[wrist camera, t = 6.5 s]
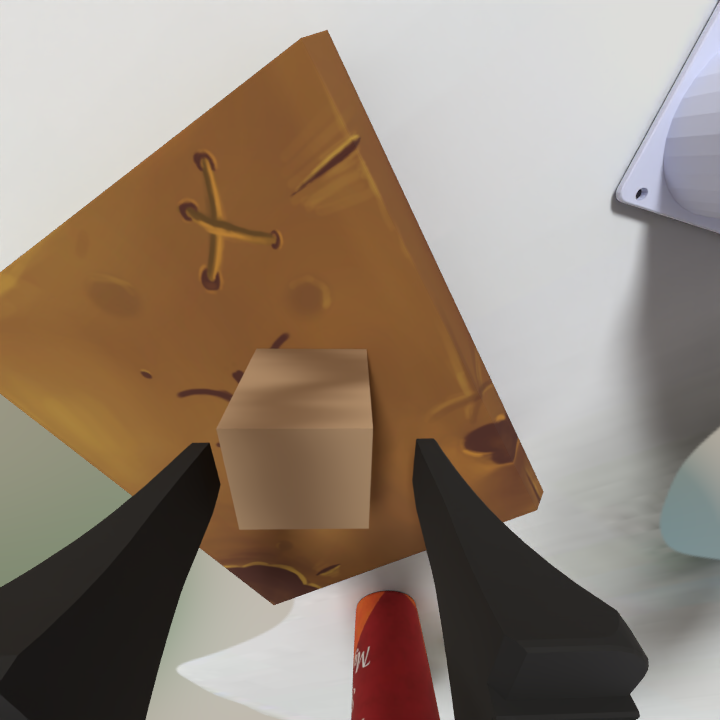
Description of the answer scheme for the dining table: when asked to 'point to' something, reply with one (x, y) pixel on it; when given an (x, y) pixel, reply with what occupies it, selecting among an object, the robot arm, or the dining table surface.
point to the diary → (257, 316)
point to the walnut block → (300, 440)
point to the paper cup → (390, 661)
